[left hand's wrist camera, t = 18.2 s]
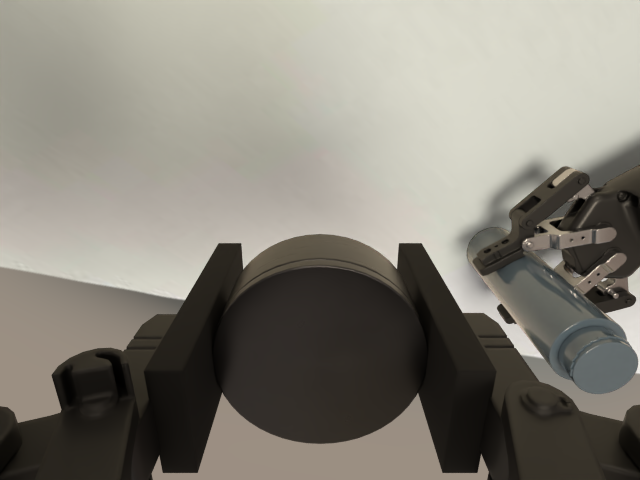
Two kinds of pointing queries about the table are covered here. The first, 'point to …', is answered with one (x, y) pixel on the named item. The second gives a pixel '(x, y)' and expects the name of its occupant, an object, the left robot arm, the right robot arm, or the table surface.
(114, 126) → the table surface
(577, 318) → the grey cylinder
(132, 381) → the left robot arm
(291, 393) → the lid
